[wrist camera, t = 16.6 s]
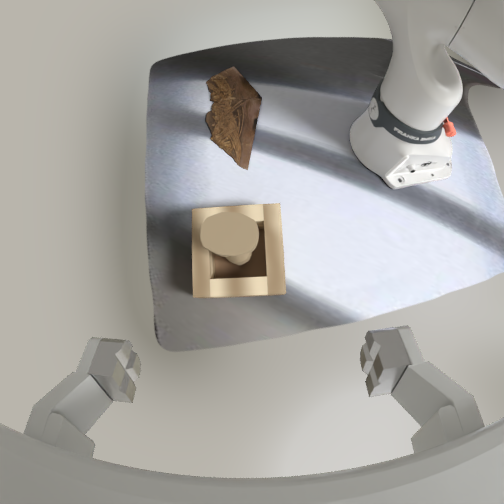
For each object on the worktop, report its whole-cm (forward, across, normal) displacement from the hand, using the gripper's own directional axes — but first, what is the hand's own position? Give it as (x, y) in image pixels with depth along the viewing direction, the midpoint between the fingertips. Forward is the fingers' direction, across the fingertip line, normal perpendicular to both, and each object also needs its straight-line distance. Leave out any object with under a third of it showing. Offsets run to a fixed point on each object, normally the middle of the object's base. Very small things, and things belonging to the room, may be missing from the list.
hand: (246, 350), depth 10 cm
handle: (+33, +3, +20) cm, 38 cm away
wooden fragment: (+53, +3, 0) cm, 53 cm away
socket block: (+33, +3, +20) cm, 39 cm away
